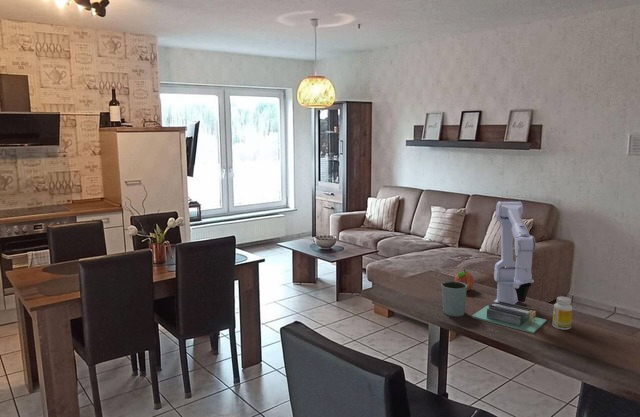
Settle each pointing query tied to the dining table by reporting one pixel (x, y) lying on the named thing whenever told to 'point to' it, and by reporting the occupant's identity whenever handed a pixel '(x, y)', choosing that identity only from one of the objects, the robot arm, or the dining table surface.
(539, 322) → the circuit board
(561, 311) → the supplement bottle
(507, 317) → the heat sink
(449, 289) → the green cup
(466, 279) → the fruit
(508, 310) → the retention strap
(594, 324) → the dining table surface
